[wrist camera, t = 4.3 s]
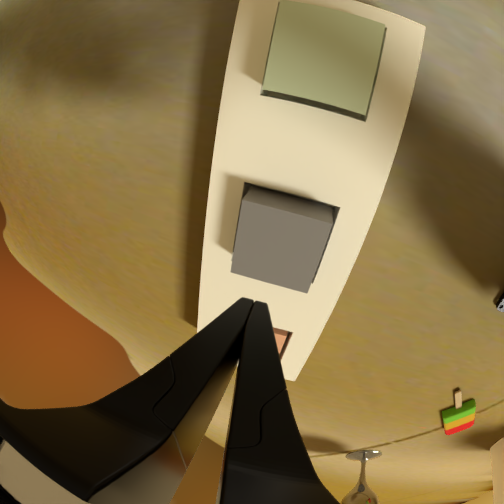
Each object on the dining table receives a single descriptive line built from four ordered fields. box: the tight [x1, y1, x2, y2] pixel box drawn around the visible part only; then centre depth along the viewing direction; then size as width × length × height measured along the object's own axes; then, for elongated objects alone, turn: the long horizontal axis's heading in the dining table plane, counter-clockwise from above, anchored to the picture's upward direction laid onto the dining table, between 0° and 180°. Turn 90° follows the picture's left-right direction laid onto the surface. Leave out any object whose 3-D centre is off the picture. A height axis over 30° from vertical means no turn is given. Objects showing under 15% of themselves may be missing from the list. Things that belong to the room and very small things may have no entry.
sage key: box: [262, 0, 385, 115], centre depth 11 cm, size 5×5×2 cm
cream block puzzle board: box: [197, 0, 426, 381], centre depth 19 cm, size 10×30×3 cm, turn 170°
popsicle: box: [442, 390, 476, 435], centre depth 28 cm, size 6×15×2 cm, turn 35°
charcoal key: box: [230, 185, 333, 293], centre depth 18 cm, size 5×5×2 cm
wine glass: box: [340, 450, 382, 504], centre depth 35 cm, size 8×8×15 cm
